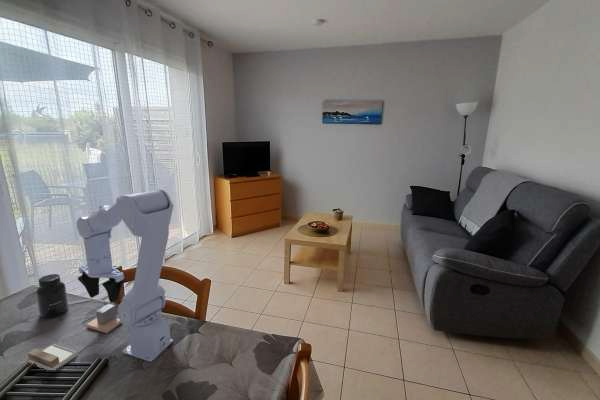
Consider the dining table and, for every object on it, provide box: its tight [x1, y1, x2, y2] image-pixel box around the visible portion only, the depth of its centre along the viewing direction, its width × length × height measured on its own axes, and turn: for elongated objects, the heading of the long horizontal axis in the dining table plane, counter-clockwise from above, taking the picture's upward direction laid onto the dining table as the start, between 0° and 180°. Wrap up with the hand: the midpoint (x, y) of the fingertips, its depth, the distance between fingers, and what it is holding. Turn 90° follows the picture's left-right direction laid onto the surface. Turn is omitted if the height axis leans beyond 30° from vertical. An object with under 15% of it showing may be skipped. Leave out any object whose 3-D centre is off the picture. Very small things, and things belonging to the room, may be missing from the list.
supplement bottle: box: [35, 273, 69, 319], centre depth 85 cm, size 7×7×12 cm
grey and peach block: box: [86, 303, 123, 334], centre depth 81 cm, size 8×5×5 cm
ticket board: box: [27, 343, 77, 370], centre depth 69 cm, size 8×6×3 cm
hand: (104, 298), depth 81 cm, fingers open, 7 cm apart
